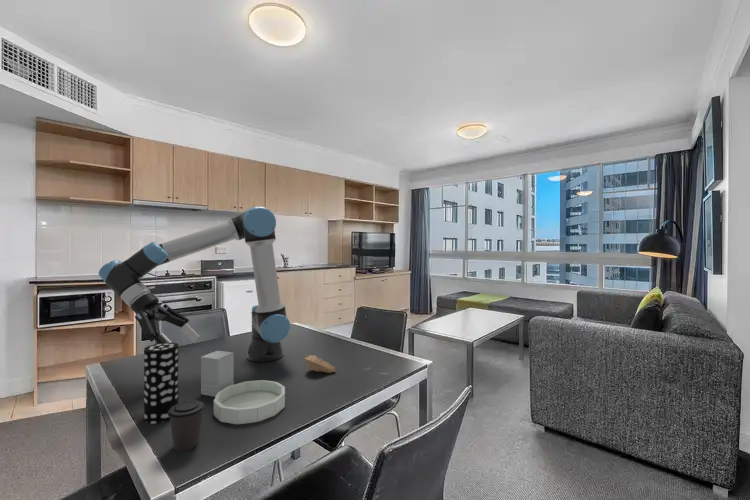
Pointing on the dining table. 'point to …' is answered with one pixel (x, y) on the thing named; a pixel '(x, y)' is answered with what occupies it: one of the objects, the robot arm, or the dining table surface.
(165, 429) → the dining table surface
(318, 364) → the pottery oil lamp
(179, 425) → the coffee cup
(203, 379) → the supplement box
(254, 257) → the robot arm
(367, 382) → the dining table surface
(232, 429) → the dining table surface
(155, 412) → the white-spotted black cylinder
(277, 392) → the bowl
